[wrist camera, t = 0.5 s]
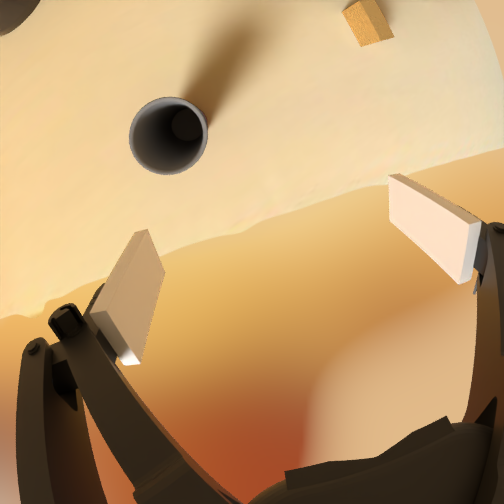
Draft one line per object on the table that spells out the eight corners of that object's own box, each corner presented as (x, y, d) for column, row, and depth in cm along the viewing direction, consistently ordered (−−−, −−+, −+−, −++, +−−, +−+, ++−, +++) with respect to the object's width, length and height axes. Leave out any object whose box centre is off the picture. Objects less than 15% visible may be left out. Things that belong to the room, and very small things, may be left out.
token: (341, 12, 28) (359, 0, 23) (355, 8, 28) (373, -2, 23) (360, 46, 31) (380, 40, 26) (373, 43, 31) (394, 37, 25)
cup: (206, 93, 33) (195, 85, 20) (220, 140, 37) (217, 161, 24) (157, 109, 34) (119, 114, 21) (171, 155, 37) (143, 185, 24)
